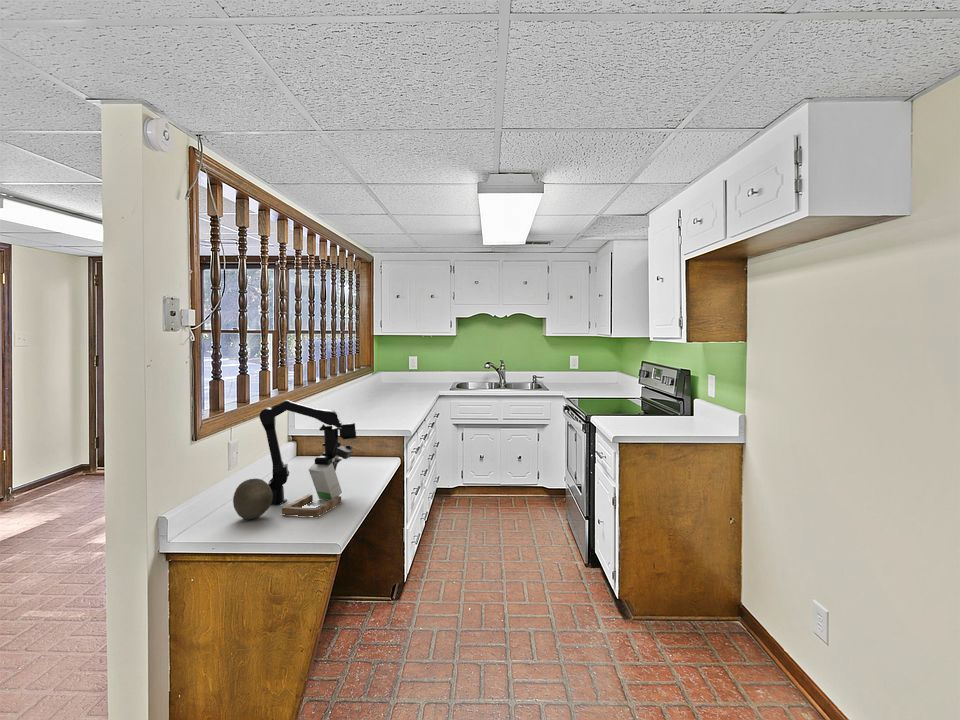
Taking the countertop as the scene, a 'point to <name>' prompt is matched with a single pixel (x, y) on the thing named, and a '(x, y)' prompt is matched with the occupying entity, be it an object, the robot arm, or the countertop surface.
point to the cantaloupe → (252, 498)
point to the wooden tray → (297, 509)
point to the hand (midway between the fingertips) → (332, 477)
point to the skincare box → (325, 481)
